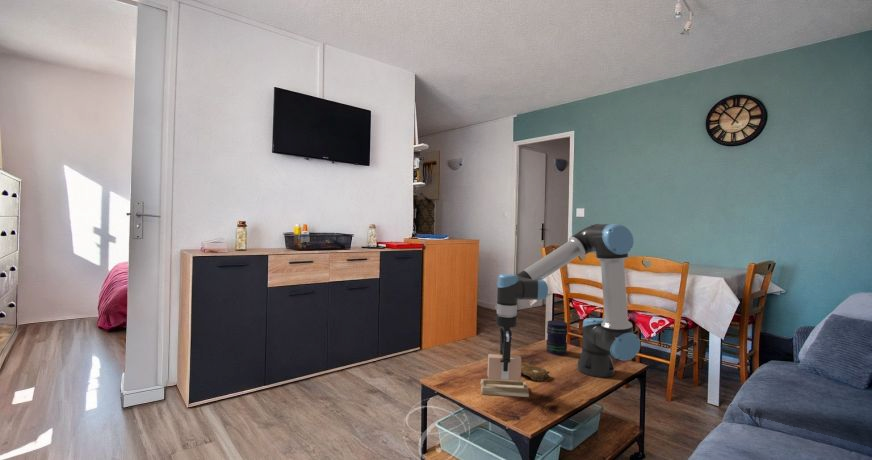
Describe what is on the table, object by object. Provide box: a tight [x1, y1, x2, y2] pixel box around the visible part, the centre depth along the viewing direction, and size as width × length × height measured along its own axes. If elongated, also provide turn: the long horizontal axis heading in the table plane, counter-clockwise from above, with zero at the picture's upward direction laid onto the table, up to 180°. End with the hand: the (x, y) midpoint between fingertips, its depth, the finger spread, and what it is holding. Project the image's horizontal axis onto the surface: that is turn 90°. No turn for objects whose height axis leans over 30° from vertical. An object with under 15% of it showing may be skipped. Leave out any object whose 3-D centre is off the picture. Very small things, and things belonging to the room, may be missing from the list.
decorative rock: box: [521, 361, 550, 382], centre depth 164 cm, size 11×4×15 cm
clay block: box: [487, 353, 523, 381], centre depth 148 cm, size 12×4×8 cm, turn 87°
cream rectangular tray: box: [480, 378, 530, 398], centre depth 148 cm, size 10×17×2 cm, turn 87°
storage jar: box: [546, 319, 568, 356], centre depth 196 cm, size 10×10×15 cm
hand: (504, 376), depth 148 cm, fingers closed on clay block, 4 cm apart
